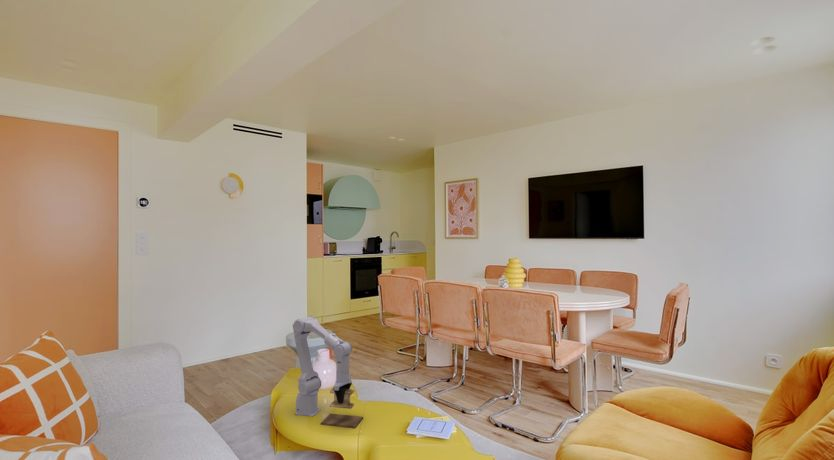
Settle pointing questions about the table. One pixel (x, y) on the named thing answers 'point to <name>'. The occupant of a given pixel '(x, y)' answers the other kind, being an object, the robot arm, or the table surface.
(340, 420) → the walnut board
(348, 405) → the oak stool
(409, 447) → the table surface
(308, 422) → the table surface
